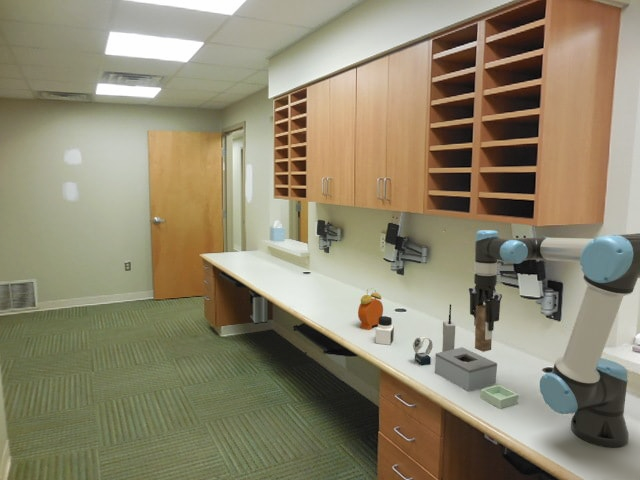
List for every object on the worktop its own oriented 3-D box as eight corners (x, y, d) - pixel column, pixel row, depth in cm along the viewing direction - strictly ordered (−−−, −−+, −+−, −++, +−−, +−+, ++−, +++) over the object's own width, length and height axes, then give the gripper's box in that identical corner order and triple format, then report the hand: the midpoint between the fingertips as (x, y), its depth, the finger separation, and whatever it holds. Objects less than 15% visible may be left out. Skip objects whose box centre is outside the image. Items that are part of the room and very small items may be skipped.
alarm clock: (373, 322, 250) (374, 285, 247) (383, 324, 246) (384, 287, 243) (357, 328, 241) (357, 289, 238) (366, 331, 236) (367, 291, 233)
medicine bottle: (390, 345, 218) (391, 320, 216) (375, 343, 220) (375, 318, 218) (393, 340, 224) (394, 315, 223) (378, 338, 227) (379, 313, 225)
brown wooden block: (491, 349, 172) (492, 306, 170) (483, 351, 171) (484, 308, 169) (482, 346, 176) (484, 304, 174) (474, 348, 174) (476, 305, 172)
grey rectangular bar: (449, 359, 202) (452, 302, 198) (453, 363, 197) (456, 305, 193) (441, 359, 202) (443, 302, 198) (444, 364, 197) (447, 305, 193)
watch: (410, 361, 200) (411, 336, 198) (427, 358, 202) (428, 334, 201) (416, 366, 195) (417, 340, 193) (434, 364, 197) (435, 338, 195)
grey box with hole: (495, 383, 180) (497, 363, 178) (468, 391, 173) (469, 370, 172) (461, 365, 195) (462, 347, 194) (434, 372, 189) (435, 353, 188)
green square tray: (517, 403, 165) (518, 394, 164) (500, 408, 161) (500, 400, 160) (498, 392, 172) (498, 384, 172) (480, 397, 168) (481, 389, 168)
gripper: (512, 276, 164) (509, 342, 167) (475, 268, 179) (473, 329, 182) (497, 279, 160) (494, 346, 163) (460, 270, 175) (458, 332, 178)
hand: (483, 337), depth 173 cm, fingers closed on brown wooden block, 4 cm apart
